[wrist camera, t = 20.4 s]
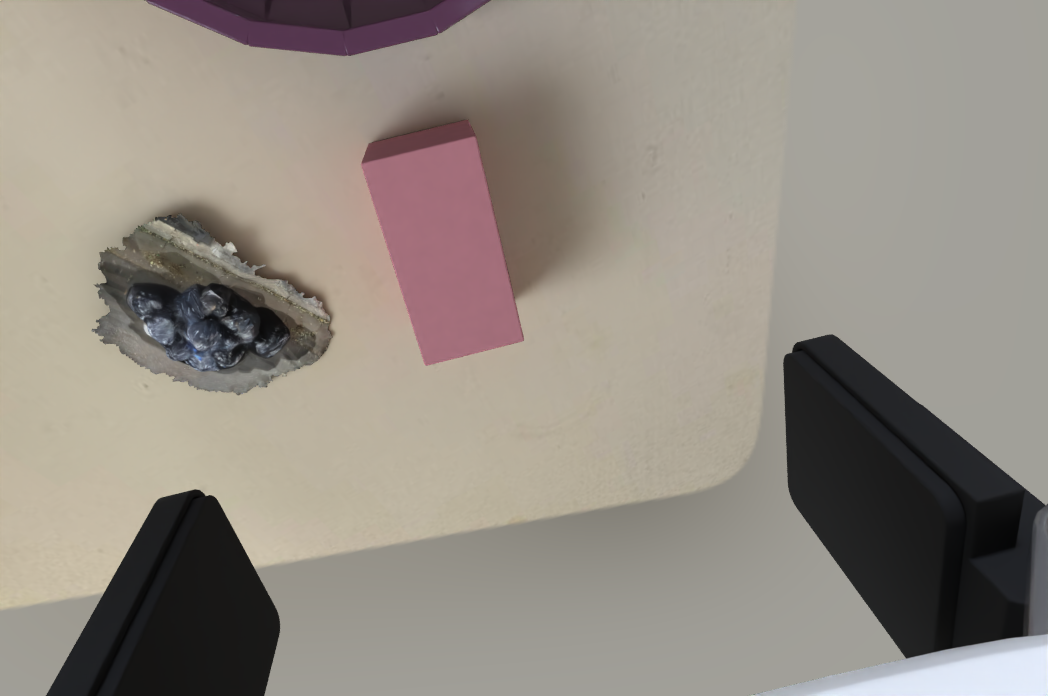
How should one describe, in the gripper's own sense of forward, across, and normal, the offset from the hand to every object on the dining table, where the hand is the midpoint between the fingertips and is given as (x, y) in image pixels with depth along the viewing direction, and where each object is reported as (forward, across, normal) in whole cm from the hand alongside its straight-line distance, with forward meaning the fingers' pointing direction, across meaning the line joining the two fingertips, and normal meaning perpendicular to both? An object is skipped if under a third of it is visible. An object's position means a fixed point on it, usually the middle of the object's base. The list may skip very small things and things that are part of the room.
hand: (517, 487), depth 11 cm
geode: (+16, +10, +1) cm, 18 cm away
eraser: (+16, +1, 0) cm, 16 cm away
